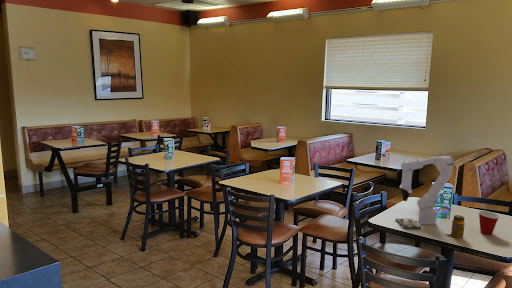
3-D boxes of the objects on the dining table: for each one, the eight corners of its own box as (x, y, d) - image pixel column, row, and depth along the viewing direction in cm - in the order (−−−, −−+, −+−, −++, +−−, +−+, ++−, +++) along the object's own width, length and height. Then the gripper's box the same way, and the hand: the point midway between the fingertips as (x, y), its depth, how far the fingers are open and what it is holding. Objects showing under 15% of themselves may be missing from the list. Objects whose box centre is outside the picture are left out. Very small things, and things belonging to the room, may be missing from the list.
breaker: (414, 223, 234) (415, 219, 233) (416, 225, 231) (417, 220, 230) (411, 223, 234) (411, 218, 233) (413, 225, 231) (413, 220, 230)
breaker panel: (411, 220, 244) (412, 218, 243) (421, 229, 230) (421, 226, 230) (395, 220, 244) (395, 218, 243) (403, 229, 230) (404, 226, 230)
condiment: (466, 239, 217) (468, 218, 215) (452, 239, 216) (454, 219, 214) (458, 234, 224) (460, 214, 222) (444, 234, 223) (446, 214, 221)
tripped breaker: (406, 223, 234) (406, 218, 233) (408, 225, 231) (408, 220, 230) (403, 223, 234) (403, 218, 233) (405, 225, 231) (405, 220, 230)
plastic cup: (497, 238, 218) (500, 218, 216) (475, 234, 224) (477, 214, 222) (497, 232, 228) (500, 212, 226) (476, 228, 233) (478, 209, 231)
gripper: (396, 177, 258) (394, 197, 260) (404, 183, 243) (402, 204, 246) (407, 177, 258) (405, 197, 260) (416, 183, 243) (414, 204, 246)
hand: (404, 200), depth 253 cm, fingers closed
